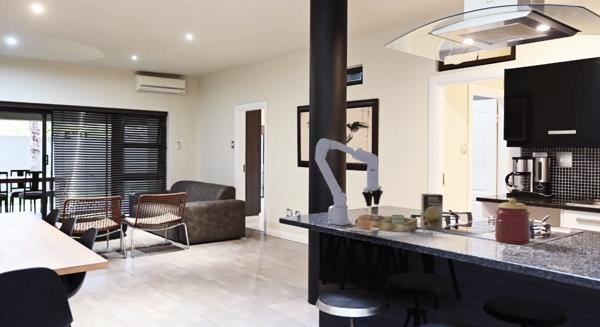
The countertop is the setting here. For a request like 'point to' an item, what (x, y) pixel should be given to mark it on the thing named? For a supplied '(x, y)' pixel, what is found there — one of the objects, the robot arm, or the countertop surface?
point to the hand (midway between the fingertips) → (372, 205)
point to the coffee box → (431, 211)
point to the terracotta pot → (364, 221)
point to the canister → (512, 223)
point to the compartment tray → (390, 223)
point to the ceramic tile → (363, 229)
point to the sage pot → (397, 219)
